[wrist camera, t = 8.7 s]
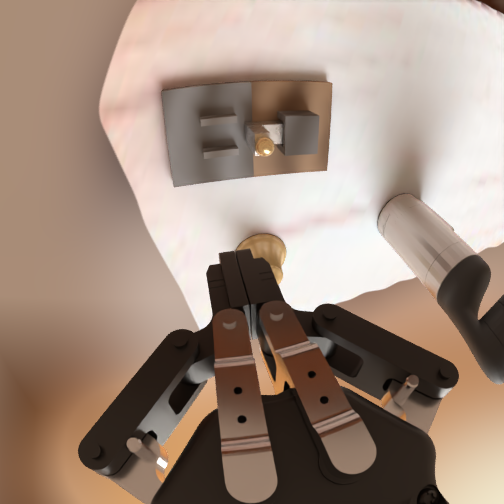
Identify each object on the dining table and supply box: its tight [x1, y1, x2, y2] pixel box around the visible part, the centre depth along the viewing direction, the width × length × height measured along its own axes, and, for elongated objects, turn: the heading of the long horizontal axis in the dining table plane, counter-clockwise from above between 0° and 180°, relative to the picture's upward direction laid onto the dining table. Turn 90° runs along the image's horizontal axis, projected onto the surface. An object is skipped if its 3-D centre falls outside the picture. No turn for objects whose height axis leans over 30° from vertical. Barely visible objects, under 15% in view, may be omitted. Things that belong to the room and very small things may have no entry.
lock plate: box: [161, 80, 332, 187], centre depth 33 cm, size 20×12×5 cm, turn 91°
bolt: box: [245, 120, 284, 156], centre depth 31 cm, size 8×2×7 cm, turn 91°
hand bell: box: [236, 234, 286, 284], centre depth 41 cm, size 8×8×16 cm
